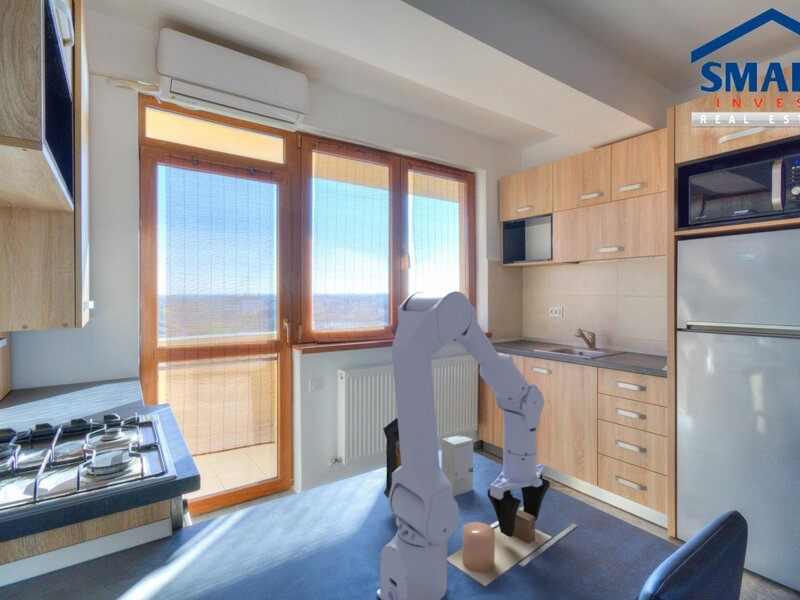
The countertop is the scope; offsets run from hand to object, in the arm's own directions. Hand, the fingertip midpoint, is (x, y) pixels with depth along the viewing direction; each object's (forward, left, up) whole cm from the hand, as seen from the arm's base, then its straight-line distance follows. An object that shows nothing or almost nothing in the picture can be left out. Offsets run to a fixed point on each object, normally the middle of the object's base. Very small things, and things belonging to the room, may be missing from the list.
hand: (519, 526), depth 71 cm
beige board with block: (-5, 0, -3) cm, 6 cm away
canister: (-9, +19, -3) cm, 21 cm away
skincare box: (+5, +19, -3) cm, 20 cm away
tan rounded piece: (-11, 0, -2) cm, 12 cm away
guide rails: (+2, 0, -3) cm, 3 cm away
